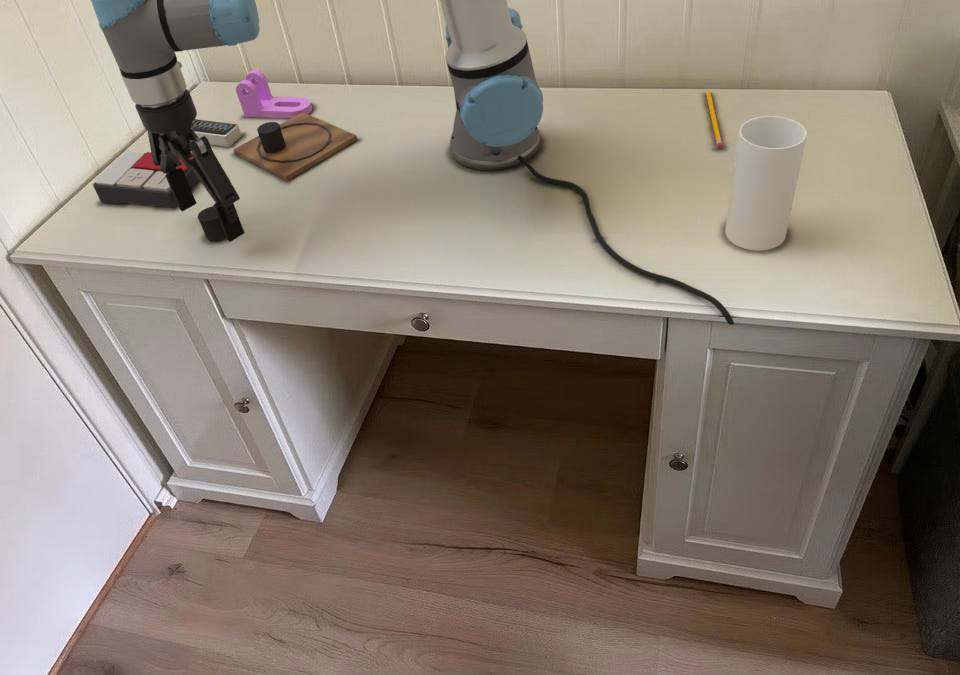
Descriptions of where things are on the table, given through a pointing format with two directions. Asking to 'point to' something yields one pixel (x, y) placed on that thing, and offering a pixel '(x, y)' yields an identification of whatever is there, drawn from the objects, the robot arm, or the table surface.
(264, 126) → the eye puck
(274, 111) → the bracket
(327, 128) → the board
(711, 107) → the pencil
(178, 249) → the table surface
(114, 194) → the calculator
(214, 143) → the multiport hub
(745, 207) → the cup
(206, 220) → the eye puck
